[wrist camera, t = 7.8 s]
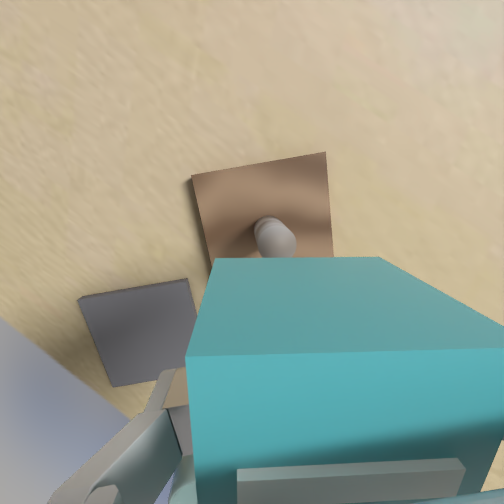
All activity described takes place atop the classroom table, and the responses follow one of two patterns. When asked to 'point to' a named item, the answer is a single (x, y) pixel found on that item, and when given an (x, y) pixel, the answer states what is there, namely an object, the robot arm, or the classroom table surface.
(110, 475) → the robot arm
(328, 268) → the teal cube
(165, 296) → the mat
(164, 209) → the classroom table surface
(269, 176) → the post base
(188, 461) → the cup
